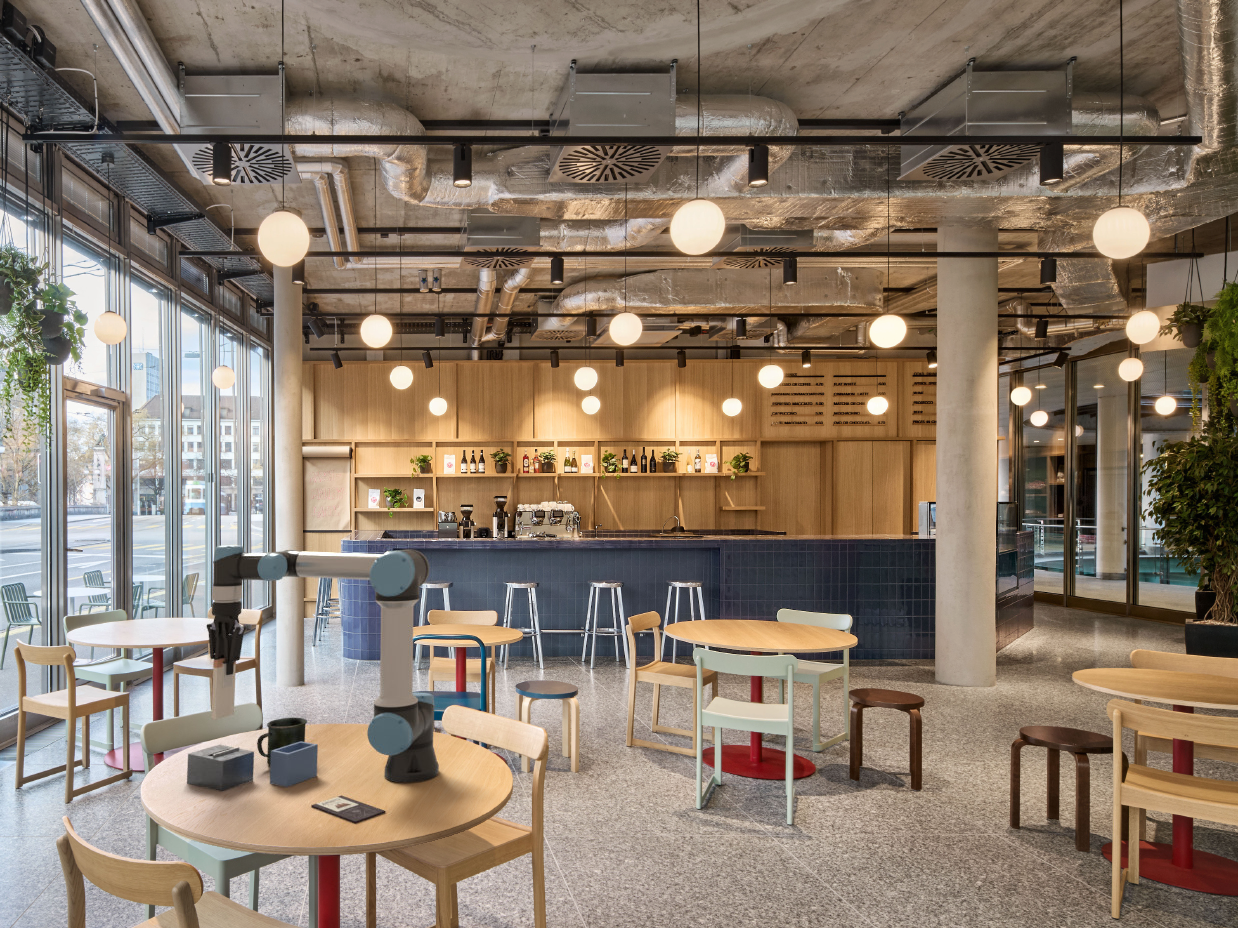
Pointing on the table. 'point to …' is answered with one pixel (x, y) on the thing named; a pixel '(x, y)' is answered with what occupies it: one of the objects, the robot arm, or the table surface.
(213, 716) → the ticket
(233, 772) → the dispenser
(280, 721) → the mug
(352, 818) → the chocolate bar
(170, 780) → the table surface
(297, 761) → the blue open box
